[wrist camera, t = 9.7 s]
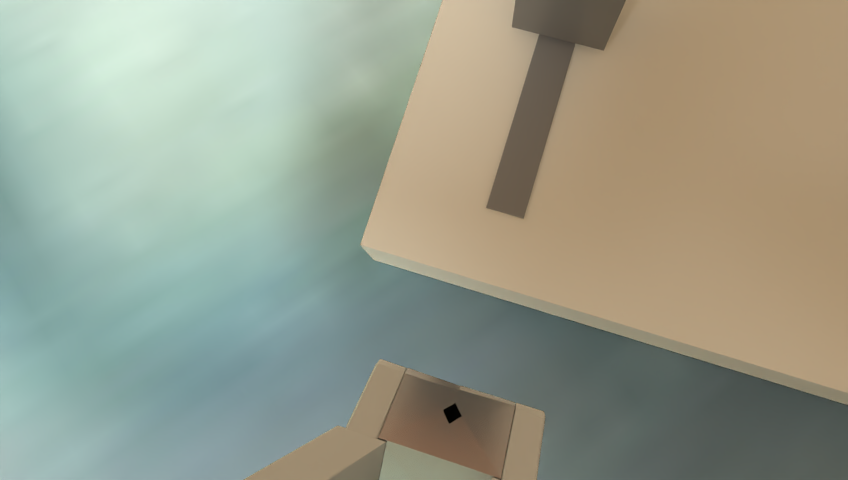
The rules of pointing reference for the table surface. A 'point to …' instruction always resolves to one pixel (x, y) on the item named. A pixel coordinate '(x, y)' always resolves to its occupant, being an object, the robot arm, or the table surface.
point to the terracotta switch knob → (569, 19)
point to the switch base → (640, 178)
